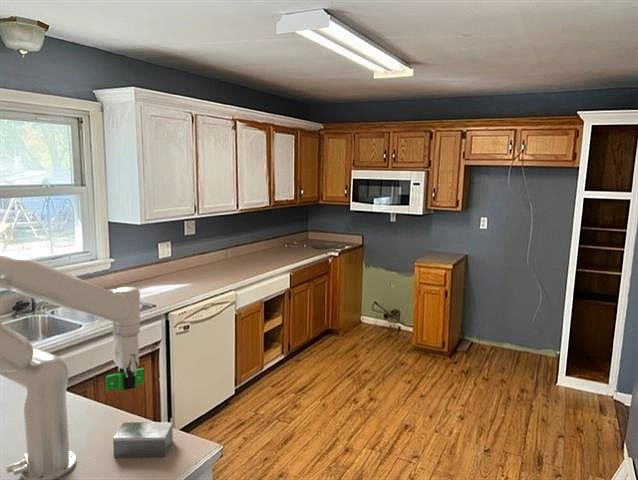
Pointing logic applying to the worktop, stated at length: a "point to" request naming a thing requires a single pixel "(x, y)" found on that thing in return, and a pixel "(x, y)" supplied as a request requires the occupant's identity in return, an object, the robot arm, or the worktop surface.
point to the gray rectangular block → (143, 440)
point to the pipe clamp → (119, 380)
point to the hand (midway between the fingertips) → (126, 385)
